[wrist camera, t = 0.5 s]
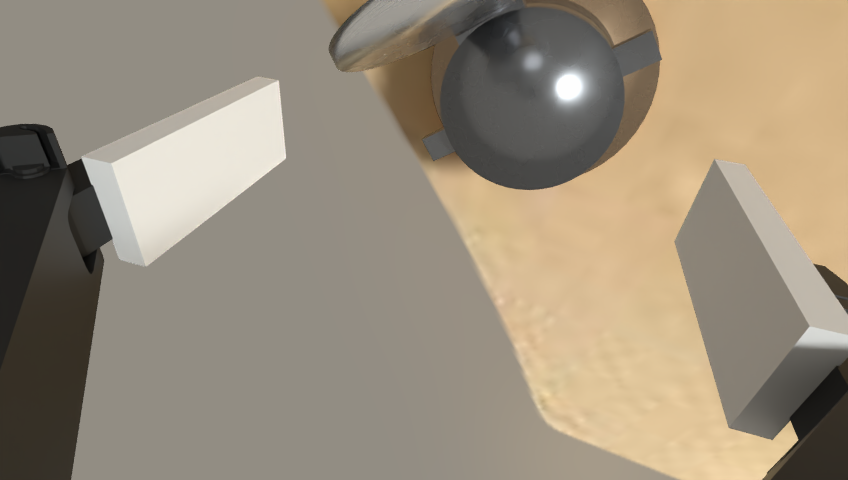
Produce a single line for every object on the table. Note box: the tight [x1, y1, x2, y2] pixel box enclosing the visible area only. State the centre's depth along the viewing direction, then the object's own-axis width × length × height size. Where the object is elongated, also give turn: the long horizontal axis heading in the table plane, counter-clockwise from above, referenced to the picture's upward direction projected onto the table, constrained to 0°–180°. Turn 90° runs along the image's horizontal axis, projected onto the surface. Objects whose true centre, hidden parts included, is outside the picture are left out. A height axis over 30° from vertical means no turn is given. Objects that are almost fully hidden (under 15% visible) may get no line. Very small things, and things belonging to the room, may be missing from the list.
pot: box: [422, 0, 662, 190], centre depth 37 cm, size 19×19×9 cm
